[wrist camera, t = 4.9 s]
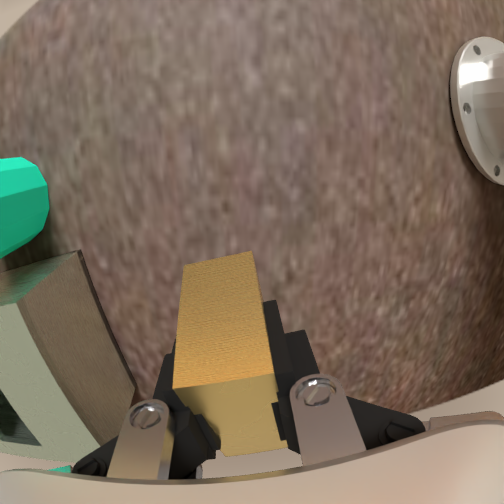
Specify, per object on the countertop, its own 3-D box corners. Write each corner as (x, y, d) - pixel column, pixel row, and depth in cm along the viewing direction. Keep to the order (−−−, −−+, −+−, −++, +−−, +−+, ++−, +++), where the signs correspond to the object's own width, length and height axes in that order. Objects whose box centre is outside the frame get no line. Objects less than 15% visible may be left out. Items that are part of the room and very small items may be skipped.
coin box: (80, 249, 19) (16, 303, 11) (136, 383, 22) (114, 464, 14) (-40, 286, 18) (-97, 328, 11) (13, 391, 22) (-22, 447, 14)
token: (251, 250, 11) (273, 372, 7) (273, 343, 14) (292, 446, 10) (184, 265, 11) (172, 388, 7) (220, 353, 14) (225, 456, 10)
